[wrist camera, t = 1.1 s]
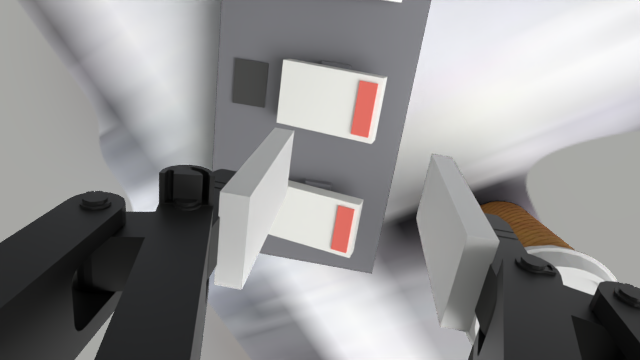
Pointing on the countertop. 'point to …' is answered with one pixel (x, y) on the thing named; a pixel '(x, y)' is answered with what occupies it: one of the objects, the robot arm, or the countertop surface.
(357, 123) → the rocker middle
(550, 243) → the disposable coffee cup
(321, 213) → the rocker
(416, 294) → the countertop surface
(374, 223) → the power strip
